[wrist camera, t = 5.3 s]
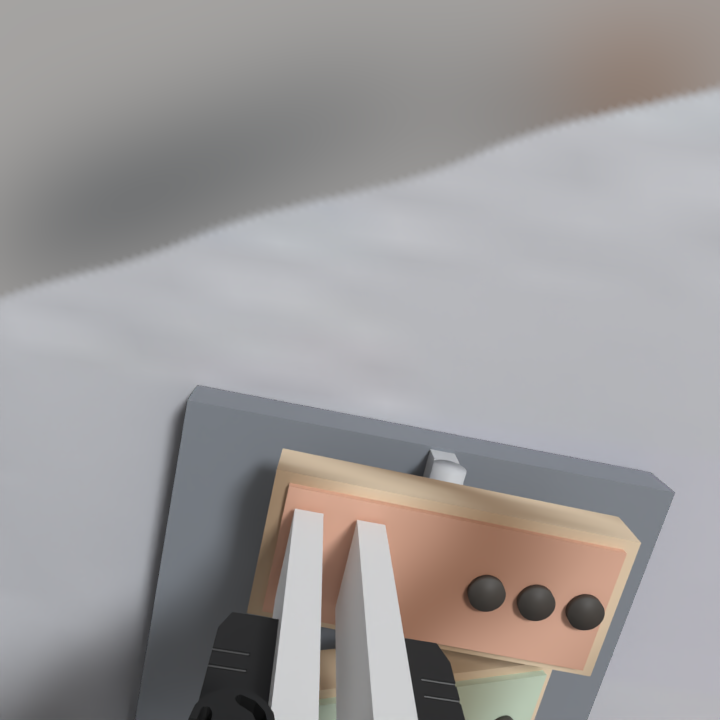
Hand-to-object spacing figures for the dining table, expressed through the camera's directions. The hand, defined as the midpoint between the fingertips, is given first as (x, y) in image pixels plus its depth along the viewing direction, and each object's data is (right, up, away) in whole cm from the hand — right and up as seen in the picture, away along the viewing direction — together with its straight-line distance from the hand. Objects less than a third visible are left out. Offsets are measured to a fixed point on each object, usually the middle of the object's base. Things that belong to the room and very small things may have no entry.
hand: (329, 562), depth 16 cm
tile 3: (+3, 0, +1) cm, 3 cm away
